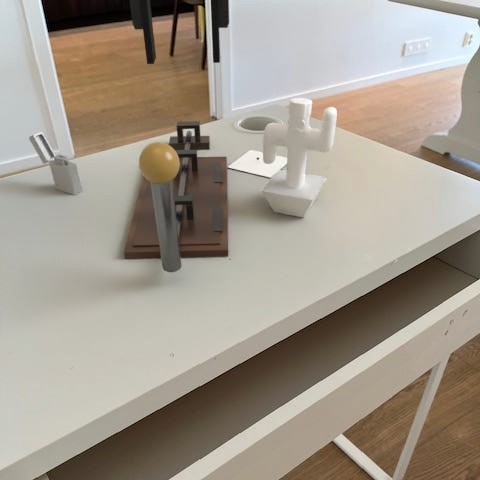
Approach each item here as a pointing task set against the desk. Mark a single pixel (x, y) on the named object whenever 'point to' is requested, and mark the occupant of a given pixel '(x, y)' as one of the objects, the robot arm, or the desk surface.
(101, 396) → the desk surface
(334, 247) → the desk surface
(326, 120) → the figurine
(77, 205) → the desk surface
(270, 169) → the white piece
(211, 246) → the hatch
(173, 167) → the bolt
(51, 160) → the lighter
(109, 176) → the desk surface
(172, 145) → the keeper
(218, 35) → the robot arm
